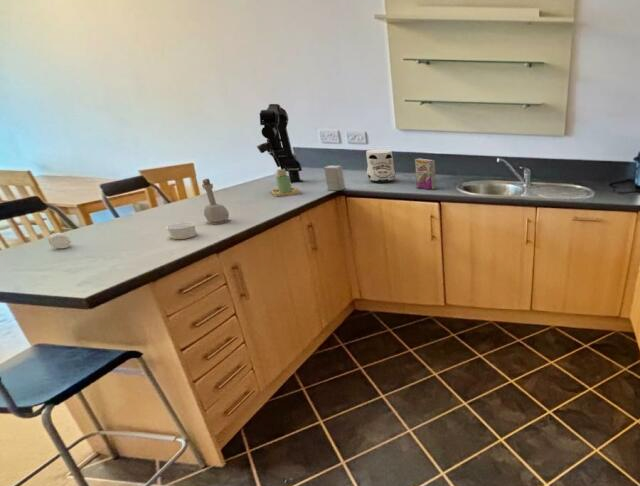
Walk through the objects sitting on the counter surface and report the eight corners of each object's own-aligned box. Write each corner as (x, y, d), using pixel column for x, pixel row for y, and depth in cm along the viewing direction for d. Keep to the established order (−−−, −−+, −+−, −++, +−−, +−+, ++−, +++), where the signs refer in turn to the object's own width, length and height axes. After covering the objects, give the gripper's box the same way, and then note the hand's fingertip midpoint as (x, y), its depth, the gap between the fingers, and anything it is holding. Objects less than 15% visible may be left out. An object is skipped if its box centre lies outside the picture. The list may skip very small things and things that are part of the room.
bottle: (277, 192, 226) (271, 170, 221) (288, 190, 231) (283, 169, 226) (284, 194, 223) (279, 172, 218) (295, 192, 228) (290, 170, 223)
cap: (276, 175, 222) (275, 169, 221) (283, 174, 226) (282, 168, 224) (280, 176, 221) (279, 170, 219) (288, 175, 224) (286, 169, 222)
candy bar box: (416, 187, 248) (414, 159, 240) (421, 186, 252) (419, 158, 244) (431, 190, 244) (430, 161, 236) (436, 188, 248) (435, 160, 240)
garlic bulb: (71, 243, 152) (64, 228, 149) (74, 246, 148) (67, 232, 146) (50, 246, 148) (42, 232, 145) (53, 250, 144) (45, 235, 142)
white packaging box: (345, 188, 242) (342, 165, 236) (339, 190, 235) (336, 167, 229) (333, 187, 242) (329, 165, 237) (327, 190, 236) (323, 167, 230)
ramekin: (170, 235, 162) (166, 224, 160) (197, 231, 167) (193, 220, 165) (170, 241, 156) (166, 230, 154) (198, 237, 161) (195, 226, 159)
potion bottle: (235, 220, 181) (223, 178, 173) (216, 225, 174) (202, 182, 166) (220, 217, 184) (207, 176, 175) (201, 223, 176) (187, 180, 168)
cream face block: (381, 185, 251) (378, 154, 243) (362, 181, 259) (358, 151, 251) (402, 180, 264) (399, 151, 256) (383, 177, 272) (380, 148, 264)
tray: (271, 192, 228) (270, 189, 227) (295, 189, 235) (294, 187, 234) (276, 196, 220) (275, 194, 219) (300, 193, 226) (300, 191, 226)
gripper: (252, 135, 216) (260, 166, 223) (259, 139, 203) (267, 172, 210) (276, 135, 222) (282, 165, 229) (284, 138, 209) (291, 170, 216)
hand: (280, 168), depth 221 cm, fingers open, 8 cm apart
